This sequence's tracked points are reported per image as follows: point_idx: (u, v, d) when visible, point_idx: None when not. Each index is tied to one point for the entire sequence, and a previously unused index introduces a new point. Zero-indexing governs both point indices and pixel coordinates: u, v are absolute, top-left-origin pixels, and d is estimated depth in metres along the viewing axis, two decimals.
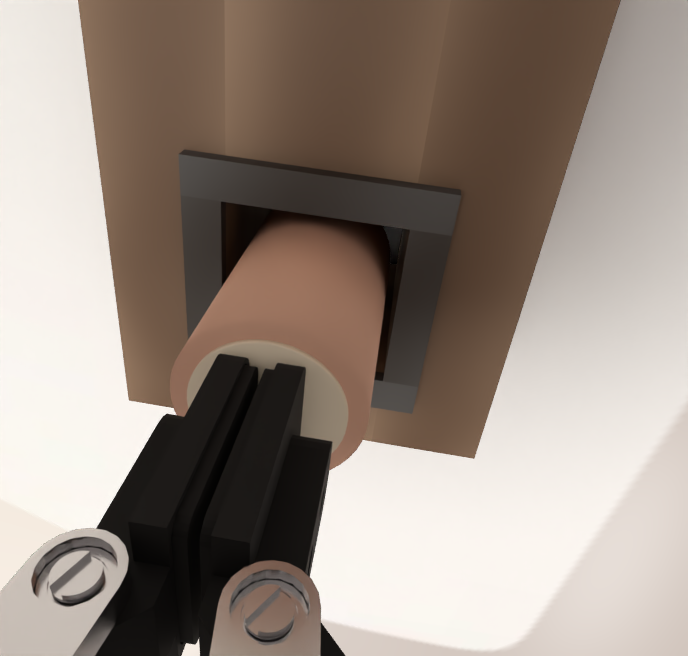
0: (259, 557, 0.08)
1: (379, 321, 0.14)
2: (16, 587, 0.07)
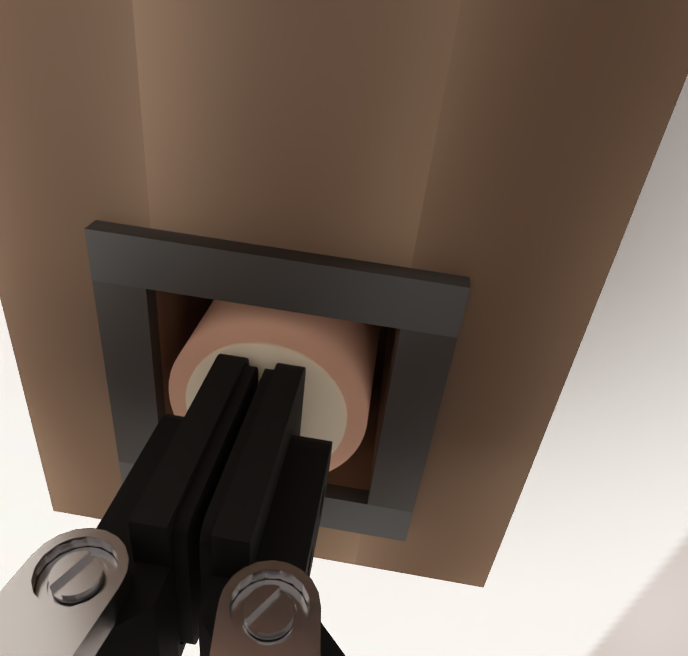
0: (259, 557, 0.08)
1: None
2: (16, 587, 0.07)
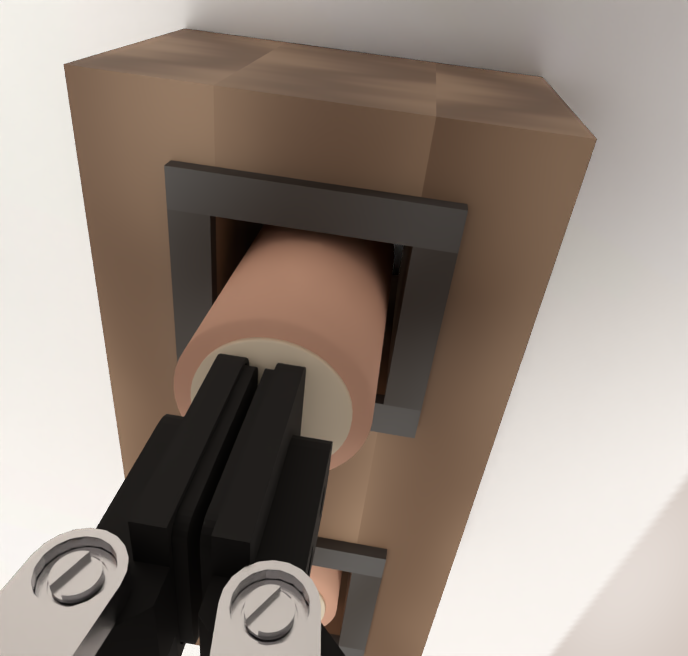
0: (259, 557, 0.08)
1: None
2: (16, 587, 0.07)
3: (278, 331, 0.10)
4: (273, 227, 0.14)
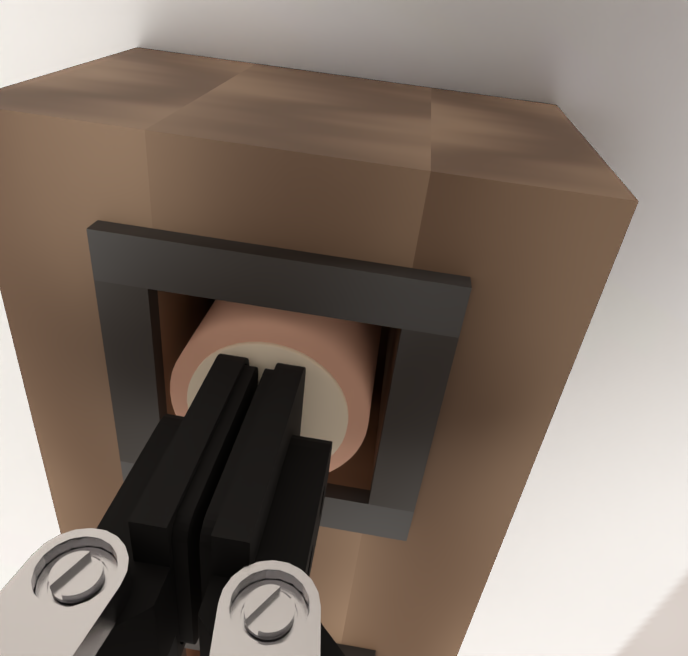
0: (259, 557, 0.08)
1: None
2: (16, 587, 0.07)
3: (274, 335, 0.11)
4: None
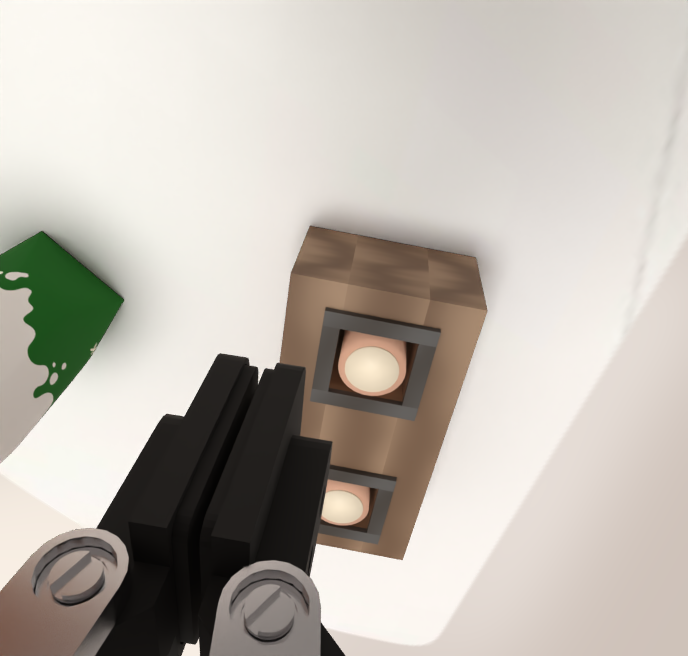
0: (259, 557, 0.08)
1: None
2: (16, 587, 0.07)
3: (378, 344, 0.33)
4: None
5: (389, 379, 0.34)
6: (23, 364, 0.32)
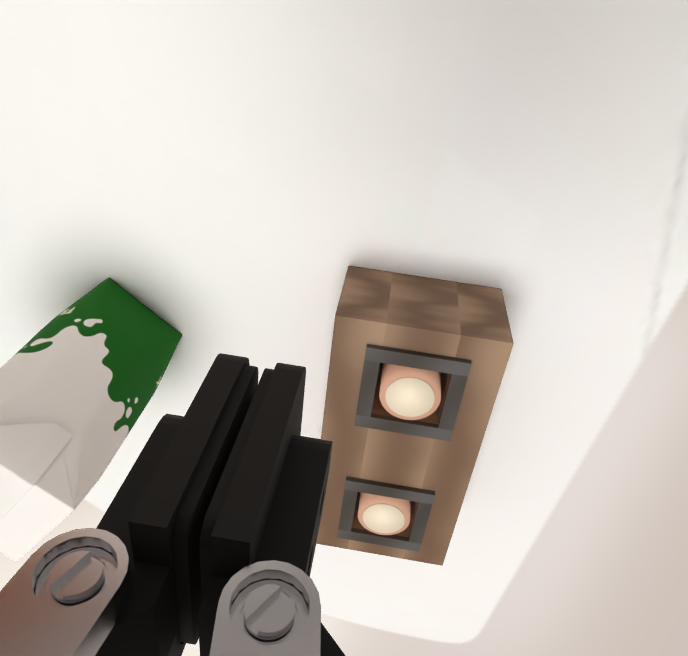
0: (259, 557, 0.08)
1: None
2: (16, 587, 0.07)
3: (415, 375, 0.37)
4: None
5: (426, 405, 0.38)
6: (105, 402, 0.37)
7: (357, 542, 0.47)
